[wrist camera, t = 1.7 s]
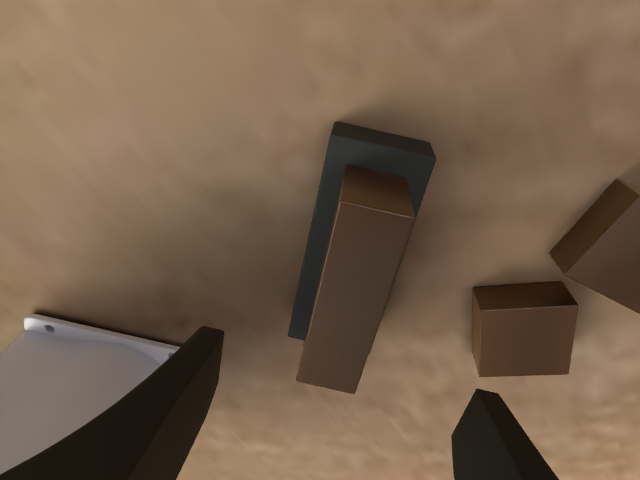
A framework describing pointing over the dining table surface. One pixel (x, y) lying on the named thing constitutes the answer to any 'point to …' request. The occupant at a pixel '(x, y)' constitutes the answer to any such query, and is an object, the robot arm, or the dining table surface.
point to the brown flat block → (606, 247)
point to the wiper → (355, 249)
